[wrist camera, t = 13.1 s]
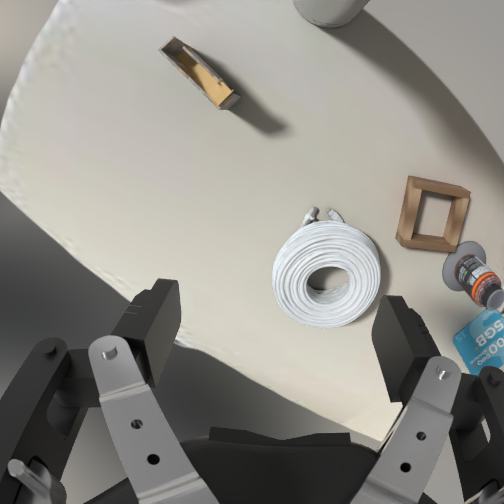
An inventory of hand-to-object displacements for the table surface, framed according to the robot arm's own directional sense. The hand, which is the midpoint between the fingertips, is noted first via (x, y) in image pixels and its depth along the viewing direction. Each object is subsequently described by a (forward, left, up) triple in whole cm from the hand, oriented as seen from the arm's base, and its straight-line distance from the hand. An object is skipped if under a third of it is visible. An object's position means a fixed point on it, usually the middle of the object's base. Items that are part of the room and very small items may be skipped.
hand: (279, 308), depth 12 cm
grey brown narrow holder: (-12, -11, -36) cm, 39 cm away
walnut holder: (+5, +25, -35) cm, 43 cm away
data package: (+28, +46, -35) cm, 64 cm away
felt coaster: (+14, +36, -35) cm, 52 cm away
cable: (+17, +9, -36) cm, 40 cm away
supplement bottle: (+14, +36, -35) cm, 52 cm away
